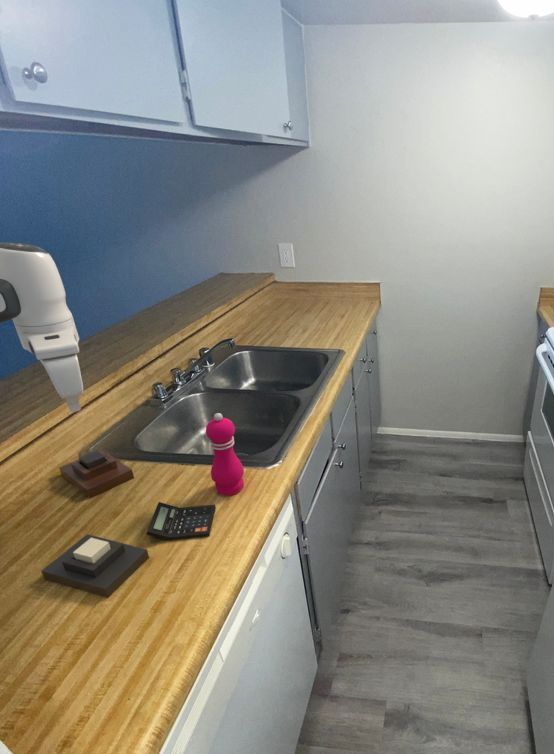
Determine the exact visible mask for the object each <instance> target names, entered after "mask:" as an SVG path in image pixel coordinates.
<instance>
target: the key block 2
mask: <svg viewBox="0 0 554 754" xmlns="http://www.w3.org/2000/svg"><path fill="white" fill-rule="evenodd" d="M90 538H94V539H98V540H102V541H106V542H109V545H110V548H111V549H110V550H109V551H108V552H107V553H105V554H104V555H103V556H102V557H101V558H100V559H98V560H97V561H96V562H95V563H94V564H91V563H87V562H83V561H80V560H76V559H75V556H74V554H73V552H74V551H75V550H77V549H78V548H79V547H80V546H81V545H83V544H84V543H85V542H86V541H88V540H89V539H90ZM148 559H150V555H149V552H148V549H146V548H143V547H140V546H135V545H133V544H132V545H131V544H128V543H125V542H119V541H115V540H111V539H108V538H104V537H99V536H96V535H93V534H89V533H88V534H86V535H84V536H83V537H81V538H80V539H79V540H78V541H76V543H74V544H73V545H72V546H70V547H69V548H68V549H67V550H66V551H64V552H63V553H61V554H60V555H59V556H58V557H57V558H55V559H54V560H53V561H52V562H50V563H49V564H48V565H47V566H45V567H44V568H43V569H42V570H41V571H40V572H41V574H42V576H43V578H44V580H45V581H48V582H53V583H55V584H59V585H63V586H66V587H70V588H74V589H77V590H80V591H84V592H87V593H90V594H95V595H98V596H101V597H104V598H110V597H111V596H112V595H113V594H114V593H115V592H116V591H117V590H118V589H119V588H120V587H121V586H122V585H123V584H125V582H126V581H127V580H128V579H130V577H131V576H132V575H133V574H134V573H136V572H137V570H138V569H139V568H141V566H142V565H143V564H145V562H147V561H148Z"/></svg>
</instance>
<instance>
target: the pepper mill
mask: <svg viewBox="0 0 554 754" xmlns="http://www.w3.org/2000/svg"><path fill="white" fill-rule="evenodd" d="M235 431H236V428H235V424H234V423H233V421H232V420H230V419H228V418H226V417H223V414H222V413H219V412H217V413H215V414H214V415H213V419H211V420H210V421H208V423H207V424H206V427H205V435H206V437H207V439H209V443H210V447H211V449H212V450H213V453H214V454H213V455H214V458H213V463H212V465H211V468H210V478H211V480H212V481H213V482H214V487H215V492H216V493H217V494H219V495H221V496H226V497H227V496H234V495H237V494H238V493H240V492H241V491H242V490H243V489H244V485H245V483H244V479H243V477H244V475H245V474H244V473H245V469H244V466H243V464H242V461H241V460H240V459H239V458H238V456H237V455H236V453H235V450H234V445H235V438H234V434H235Z"/></svg>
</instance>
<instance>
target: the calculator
mask: <svg viewBox="0 0 554 754" xmlns="http://www.w3.org/2000/svg"><path fill="white" fill-rule="evenodd" d="M215 512H216V504H215V503H214V504H204V505H194V506H184V507H178V506H175V505H171V504H168V503H164V502H160V501H158V503H157V505H156V507H155V509H154V512H153V515H152V518H151V520H150V523H149V525H148V528H147V530H146V533H145V535H146V536H150V537H155V538H159V539H163V540H166V541H178V540H180V541H181V540H189V539H198V538H206V537H207V538H208V537H210V535H211V530H212V525H213V521H214V517H215Z"/></svg>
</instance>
